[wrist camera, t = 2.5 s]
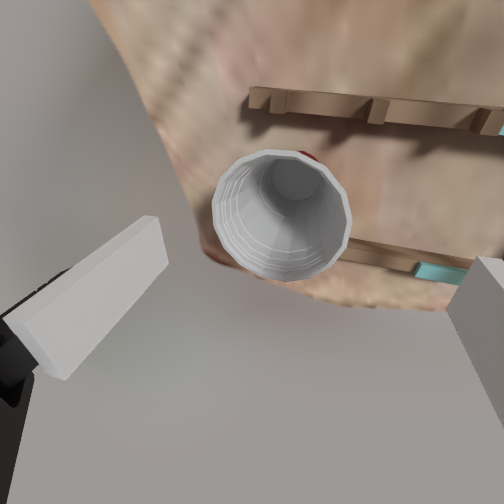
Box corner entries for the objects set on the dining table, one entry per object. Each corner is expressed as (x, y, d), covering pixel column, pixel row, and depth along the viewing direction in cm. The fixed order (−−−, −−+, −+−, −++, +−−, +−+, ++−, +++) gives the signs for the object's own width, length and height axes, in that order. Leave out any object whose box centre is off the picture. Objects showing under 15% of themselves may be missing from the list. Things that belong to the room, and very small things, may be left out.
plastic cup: (285, 97, 25) (256, 112, 15) (369, 167, 26) (389, 219, 17) (231, 183, 31) (186, 231, 22) (300, 235, 33) (287, 302, 23)
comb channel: (247, 230, 34) (237, 248, 31) (255, 85, 25) (243, 87, 22) (513, 280, 29) (537, 308, 26) (650, 119, 20) (718, 129, 16)
